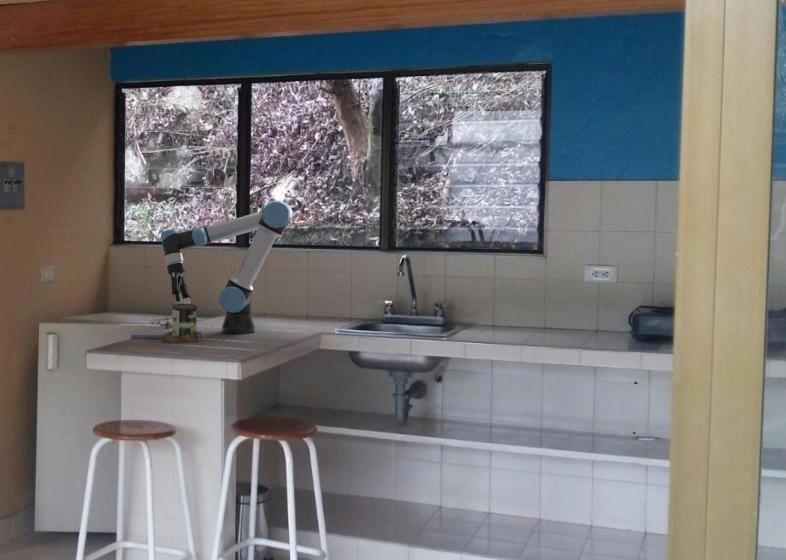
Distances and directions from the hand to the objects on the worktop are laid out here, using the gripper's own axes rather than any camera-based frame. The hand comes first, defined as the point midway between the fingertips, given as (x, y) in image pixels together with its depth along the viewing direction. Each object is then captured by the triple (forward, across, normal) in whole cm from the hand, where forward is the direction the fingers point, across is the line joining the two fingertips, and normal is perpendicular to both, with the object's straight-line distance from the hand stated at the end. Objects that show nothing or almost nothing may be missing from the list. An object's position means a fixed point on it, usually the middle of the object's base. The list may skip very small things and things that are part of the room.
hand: (184, 310), depth 402 cm
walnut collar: (+13, +8, -1) cm, 15 cm away
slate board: (+8, +2, -17) cm, 19 cm away
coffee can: (+13, +8, -1) cm, 15 cm away
